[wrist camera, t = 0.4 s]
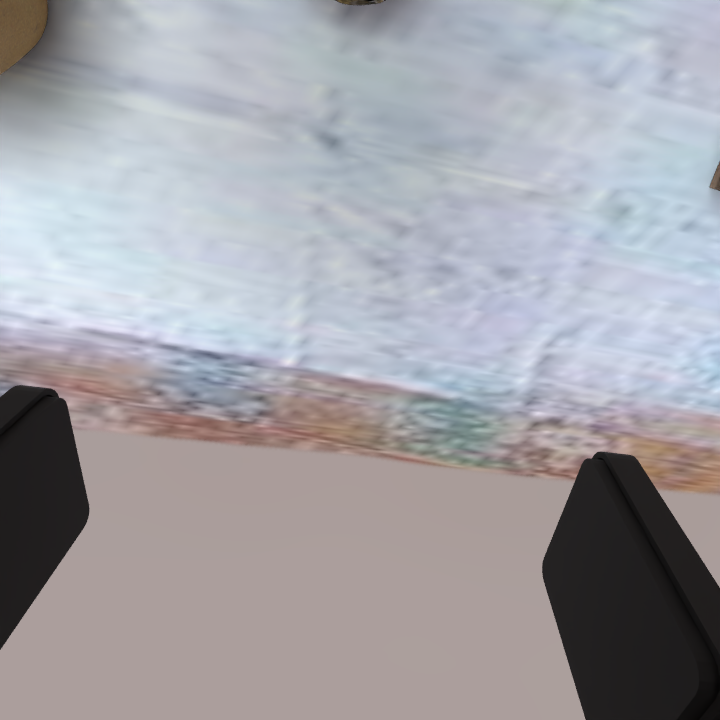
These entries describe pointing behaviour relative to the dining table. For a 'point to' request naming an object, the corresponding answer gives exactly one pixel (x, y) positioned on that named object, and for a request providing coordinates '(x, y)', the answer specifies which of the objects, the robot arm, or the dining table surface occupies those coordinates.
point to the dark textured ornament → (359, 2)
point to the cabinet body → (716, 179)
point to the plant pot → (20, 28)
